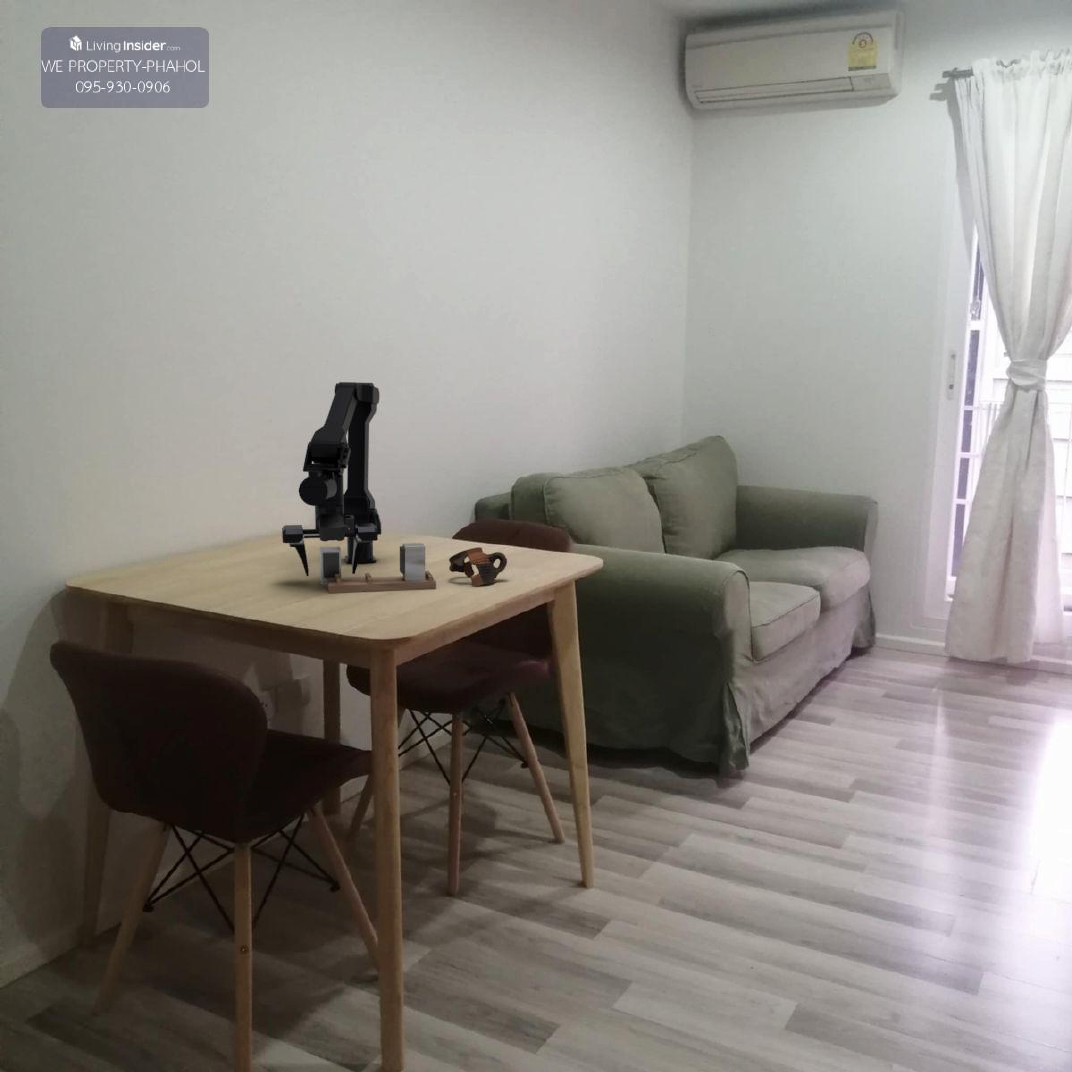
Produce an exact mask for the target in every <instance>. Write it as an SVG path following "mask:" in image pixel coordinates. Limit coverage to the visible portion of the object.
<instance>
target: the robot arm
mask: <svg viewBox="0 0 1072 1072" xmlns="http://www.w3.org/2000/svg"><path fill="white" fill-rule="evenodd" d="M379 402H380V389H379V388H378V387H377V386H375V384H374V383H373V382H355V381H353V382H351V381H339V382H337V383H336V384H335V385H334V396H333V399H332V402H331V405H330V407H329V410H328V413H327V416H326V419H325V422H324V425H322V426H321V427H320V428H318V429H316V430H315V431H314V433H313V434H312V436H311V439H310V440H309V442H308V444H307V447H306V448H307V449H306V452H305V457H304V462H303V467H302V472H304V473H305V472H306V473H308V476H307V477H305V478H304V479H302V481H301V482H300V484H299V487H298V495H299V497H300V499H301V501H303V503H305V504H306V505H308V506H312V507H314V521H315V524H314V525H315V526H314V527H315V528H303V525H302V524H289V525H287V524H285V525H284V526H283V527H281V540H282V543H283V544H289V545H288V546H289V547H290V548H295V550H296V552H297V554H298V556H299V558H300V560H301V563H302V567H303V569H304V572H305V575H306V577H309V575H310V574H309V570H310V569H309V564H308V558H307V557H308V556H307V551H306V545H305V540H304V539H319V540H320V541H322V542H328V541H336V542H342V541H344V540H345V538H347V539H346V541H347V542H346V545H347V546H346V548H347V552H346V553H347V555H344V559H345V563H346V564H351V574H352V575H355V574H356V570H357V568H358V565H359V563H360V564H361V563H362V564H363V563H364V564H365V563H376V562H377V558H376V556H374V541H378V536H379V535H382V521H381V519H380V515H379V512H378V509H377V508H376V500H375V499H374V496H373V495H372V493H371V491H370V490H369V452H370V448H369V447H370V423H371V421H372V420H373V418H374V417H375V415H376V413H377V412H378V411H377V409H378V404H379ZM345 469H347V474H346V475H347V477H346V479H347V482H346V483H347V484H346V487H347V488H346V490H345V491H344V473H345Z"/></svg>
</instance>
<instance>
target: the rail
mask: <svg viewBox="0 0 1072 1072" xmlns="http://www.w3.org/2000/svg"><path fill="white" fill-rule="evenodd" d="M401 543H402V542H401ZM399 571H400V573H401V574H402V575H401V576H400V575H399V576H397V575H396V576H379V577H378V576H377V577H372V575H371V574H370V572H365V574H364V575H365V576H364V577H351V578H349V577H348V578H342V577H341V578H340V575H339V574H335V579H327V585H326V587H327V591H328V593H329V594H341V593H342V594H343V593H362V591H371V592H390V591H392V590H395V591H409V590H408V589H419V590H435V589H434V588H436V589H437V581H436V580H435V577H434V576H433V574H432V573H431V572H430V571H429V570H426V545H425V544H424V543H423V542H406V543H402V544H401V545H400V546H399ZM388 590H389V591H388Z"/></svg>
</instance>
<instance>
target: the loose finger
mask: <svg viewBox="0 0 1072 1072" xmlns="http://www.w3.org/2000/svg"><path fill="white" fill-rule="evenodd" d="M335 574H339V575H340V578H341V579H342V549H341V547H340V546H320V547H319V581H320V586H321V585H322V586H323V585H324V586H325V585H326V586H327V579H335Z"/></svg>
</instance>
